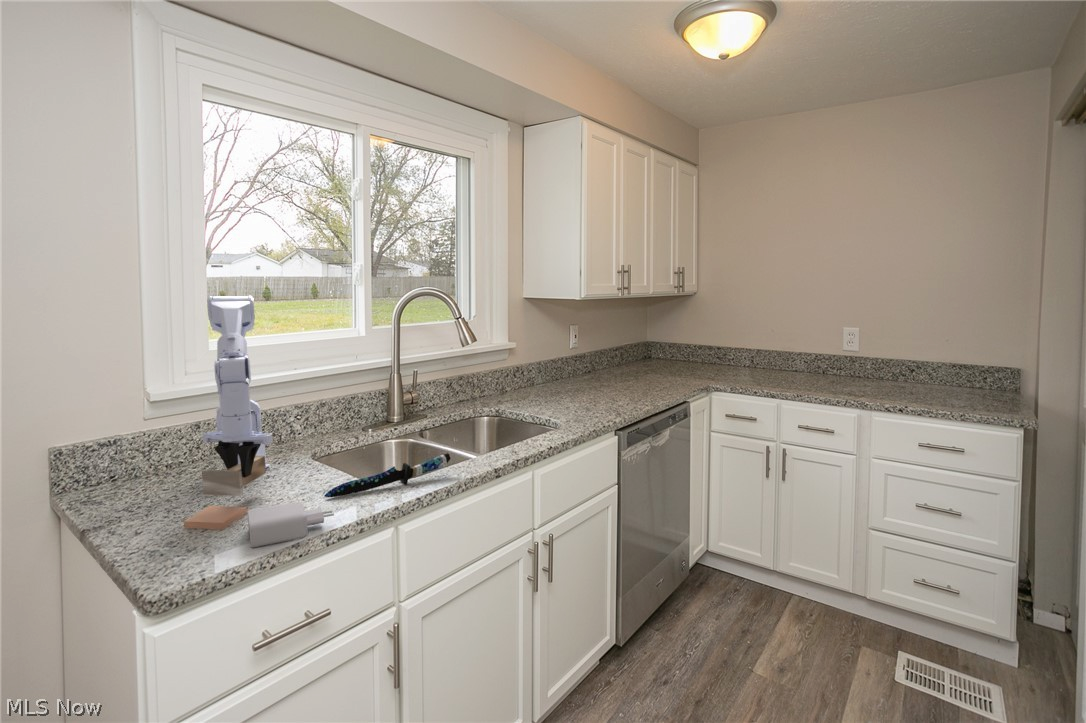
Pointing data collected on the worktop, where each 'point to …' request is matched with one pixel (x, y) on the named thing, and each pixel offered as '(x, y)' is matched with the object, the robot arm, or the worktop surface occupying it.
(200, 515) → the tile
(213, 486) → the scraper
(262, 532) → the charger
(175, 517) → the worktop surface
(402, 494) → the worktop surface
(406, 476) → the knife
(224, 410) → the robot arm
